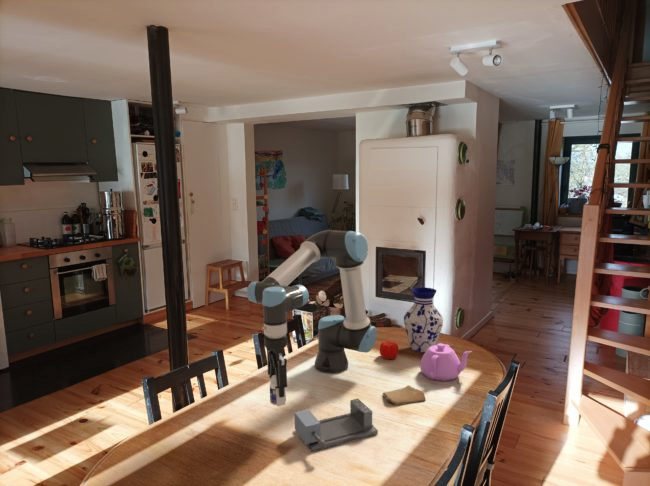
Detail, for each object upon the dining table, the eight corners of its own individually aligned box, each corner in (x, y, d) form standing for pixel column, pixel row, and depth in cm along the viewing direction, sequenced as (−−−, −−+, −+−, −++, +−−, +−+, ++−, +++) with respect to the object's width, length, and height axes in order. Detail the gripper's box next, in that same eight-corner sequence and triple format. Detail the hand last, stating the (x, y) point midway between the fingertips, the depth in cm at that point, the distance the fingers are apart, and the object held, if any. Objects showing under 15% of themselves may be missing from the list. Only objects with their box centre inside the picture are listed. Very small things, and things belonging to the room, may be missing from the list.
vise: (295, 430, 160) (295, 409, 159) (357, 415, 170) (357, 395, 169) (311, 452, 147) (311, 429, 146) (377, 434, 157) (377, 413, 156)
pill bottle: (270, 398, 159) (269, 373, 158) (286, 397, 160) (285, 372, 158) (269, 406, 154) (268, 380, 153) (285, 405, 155) (285, 379, 153)
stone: (426, 402, 180) (427, 394, 179) (389, 407, 176) (389, 399, 175) (413, 389, 190) (414, 382, 190) (378, 394, 186) (378, 386, 186)
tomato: (385, 352, 229) (385, 337, 228) (401, 356, 224) (401, 341, 223) (375, 358, 221) (375, 343, 220) (392, 363, 216) (392, 347, 215)
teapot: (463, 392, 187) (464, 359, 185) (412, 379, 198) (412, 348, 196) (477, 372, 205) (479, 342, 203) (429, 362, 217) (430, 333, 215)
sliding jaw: (294, 429, 157) (294, 412, 156) (308, 425, 159) (308, 409, 158) (315, 457, 141) (315, 438, 141) (330, 453, 144) (330, 434, 143)
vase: (395, 349, 233) (396, 290, 228) (416, 339, 246) (417, 283, 242) (429, 359, 220) (431, 297, 215) (449, 348, 234) (451, 289, 229)
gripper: (256, 327, 160) (259, 391, 164) (273, 346, 143) (276, 416, 147) (277, 324, 163) (279, 387, 167) (296, 341, 146) (298, 411, 150)
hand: (278, 400), depth 157 cm, fingers closed on pill bottle, 5 cm apart
